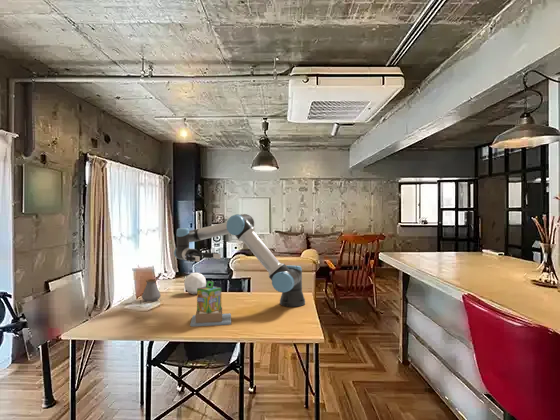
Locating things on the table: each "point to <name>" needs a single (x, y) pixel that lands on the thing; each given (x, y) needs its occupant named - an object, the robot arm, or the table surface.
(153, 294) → the coffee pot
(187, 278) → the geometric shape
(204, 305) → the chalk box
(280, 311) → the table surface
